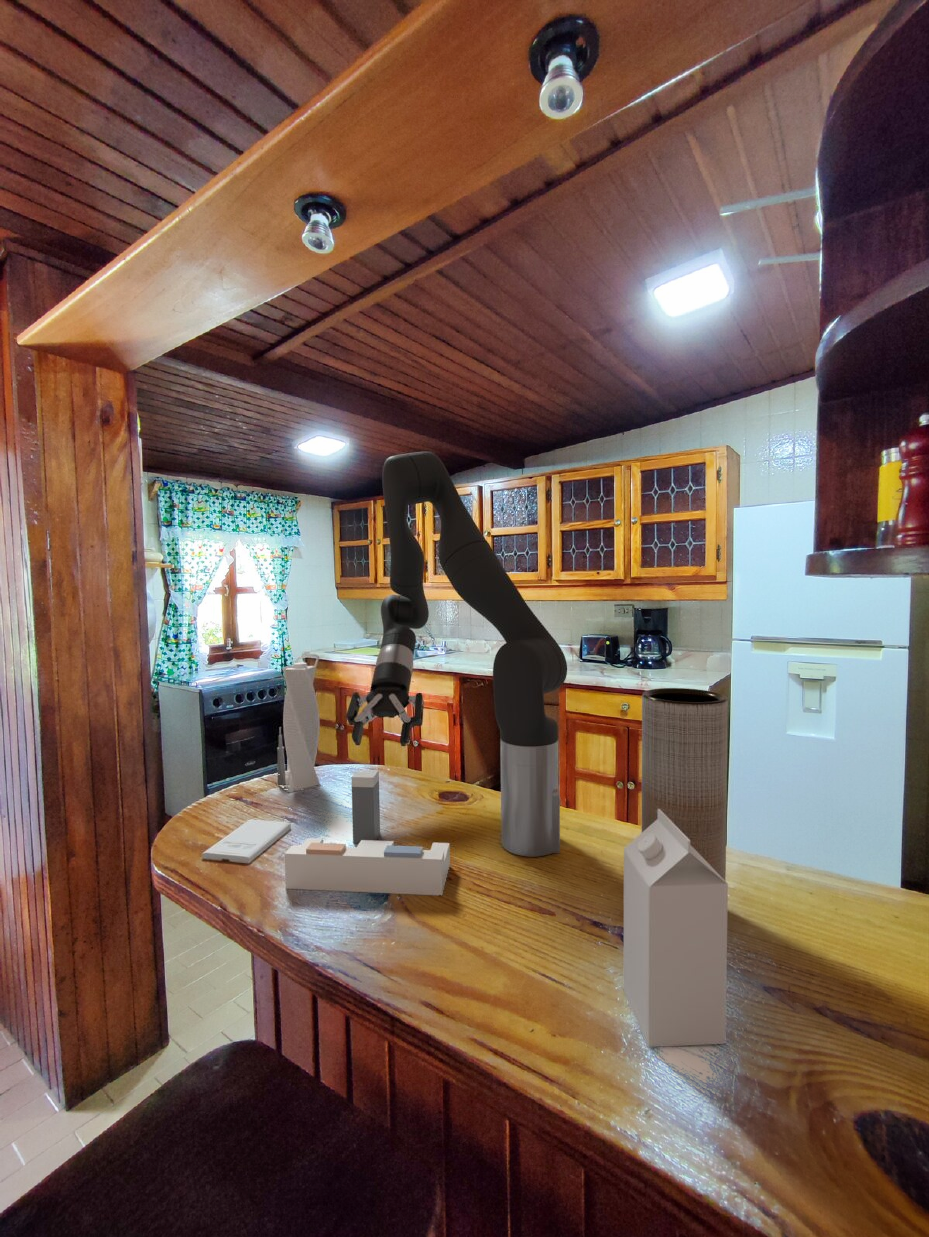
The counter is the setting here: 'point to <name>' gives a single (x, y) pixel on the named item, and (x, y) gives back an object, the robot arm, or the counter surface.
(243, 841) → the external hard drive
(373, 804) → the grey tall block
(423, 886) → the socket strip
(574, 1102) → the counter surface
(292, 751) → the skyscraper
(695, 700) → the vase
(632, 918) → the milk carton
